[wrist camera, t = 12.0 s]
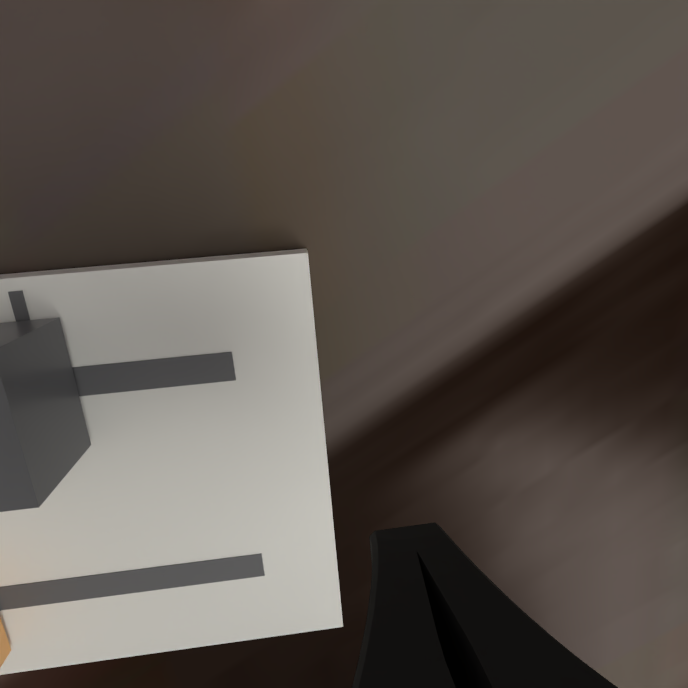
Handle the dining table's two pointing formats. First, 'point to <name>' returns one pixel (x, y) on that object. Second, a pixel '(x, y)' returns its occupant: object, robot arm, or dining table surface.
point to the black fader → (37, 413)
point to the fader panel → (176, 465)
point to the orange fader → (3, 645)
